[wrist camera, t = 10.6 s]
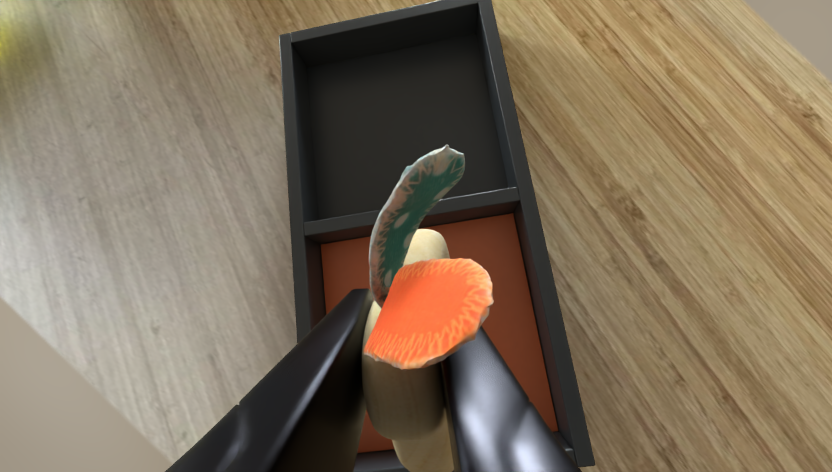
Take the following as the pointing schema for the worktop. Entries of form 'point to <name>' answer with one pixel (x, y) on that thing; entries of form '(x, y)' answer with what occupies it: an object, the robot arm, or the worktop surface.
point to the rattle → (418, 315)
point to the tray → (402, 146)
